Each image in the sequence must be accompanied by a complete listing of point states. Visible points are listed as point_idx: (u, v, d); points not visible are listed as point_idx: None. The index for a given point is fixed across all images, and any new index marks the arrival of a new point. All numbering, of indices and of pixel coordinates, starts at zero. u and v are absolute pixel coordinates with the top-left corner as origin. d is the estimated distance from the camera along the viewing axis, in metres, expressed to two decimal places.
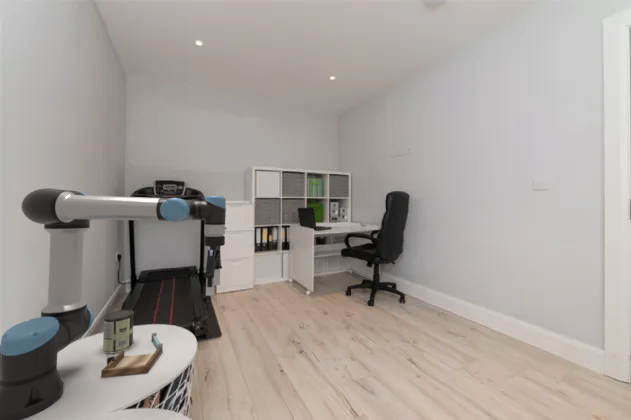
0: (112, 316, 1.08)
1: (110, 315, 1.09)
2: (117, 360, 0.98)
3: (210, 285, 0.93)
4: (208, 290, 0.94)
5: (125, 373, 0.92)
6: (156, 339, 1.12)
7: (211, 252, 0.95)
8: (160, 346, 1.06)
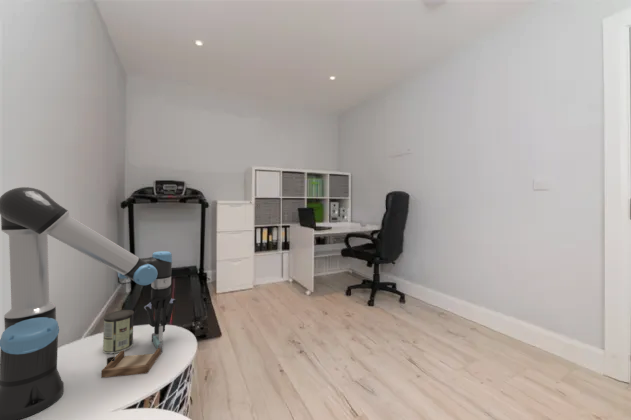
0: (112, 316, 1.08)
1: (110, 315, 1.09)
2: (117, 360, 0.98)
3: (155, 333, 1.13)
4: (157, 336, 1.14)
5: (125, 373, 0.92)
6: (156, 339, 1.12)
7: (145, 308, 1.10)
8: (160, 346, 1.06)
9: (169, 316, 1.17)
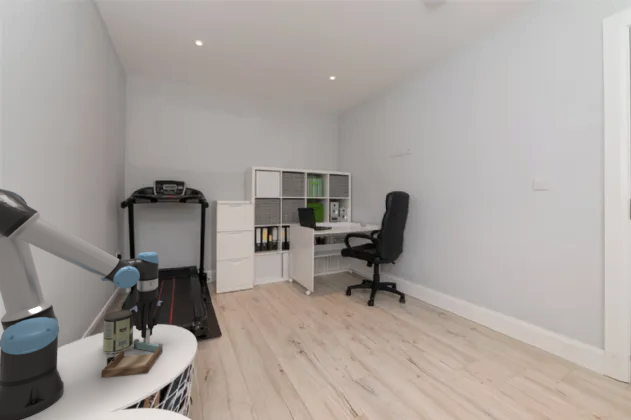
0: (112, 316, 1.08)
1: (110, 315, 1.09)
2: (117, 360, 0.98)
3: (142, 336, 1.09)
4: (144, 340, 1.10)
5: (125, 373, 0.92)
6: (146, 343, 1.09)
7: None
8: (161, 346, 1.06)
9: (156, 319, 1.13)
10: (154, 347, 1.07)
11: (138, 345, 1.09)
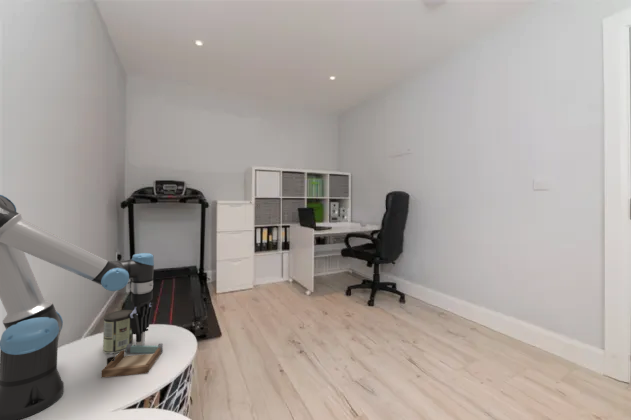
0: (112, 316, 1.08)
1: (110, 315, 1.09)
2: (117, 360, 0.98)
3: (138, 340, 1.06)
4: (138, 344, 1.07)
5: (125, 373, 0.92)
6: (141, 346, 1.06)
7: (131, 316, 1.01)
8: (162, 345, 1.07)
9: (149, 321, 1.11)
10: (153, 348, 1.06)
11: (132, 349, 1.06)
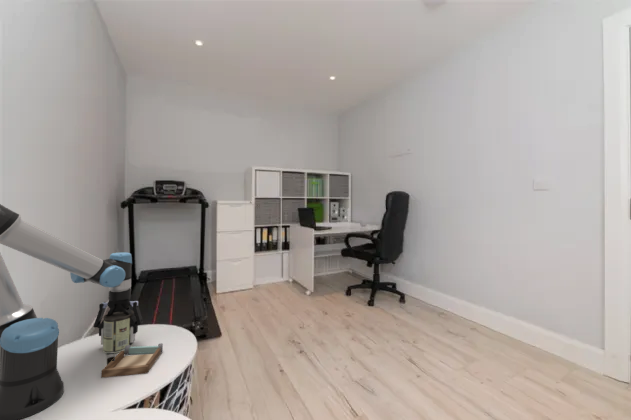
0: (111, 316, 1.08)
1: (110, 315, 1.09)
2: (117, 360, 0.98)
3: None
4: None
5: (125, 373, 0.92)
6: (140, 347, 1.06)
7: None
8: (162, 345, 1.07)
9: (137, 319, 1.10)
10: (153, 348, 1.06)
11: (131, 350, 1.05)
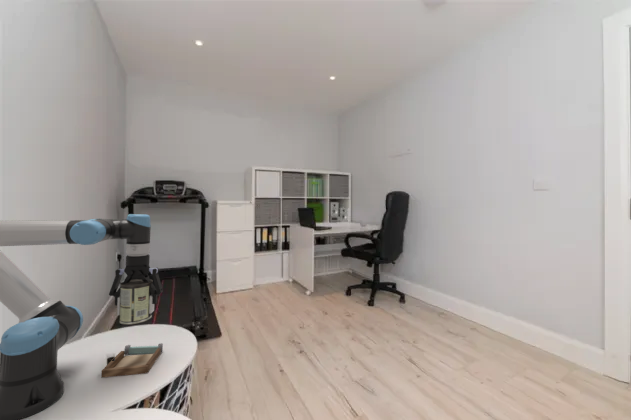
0: (129, 283, 0.97)
1: (127, 283, 0.98)
2: (117, 360, 0.98)
3: None
4: None
5: (125, 373, 0.92)
6: (140, 347, 1.06)
7: None
8: (162, 345, 1.07)
9: (157, 287, 0.99)
10: (153, 348, 1.06)
11: (131, 350, 1.05)
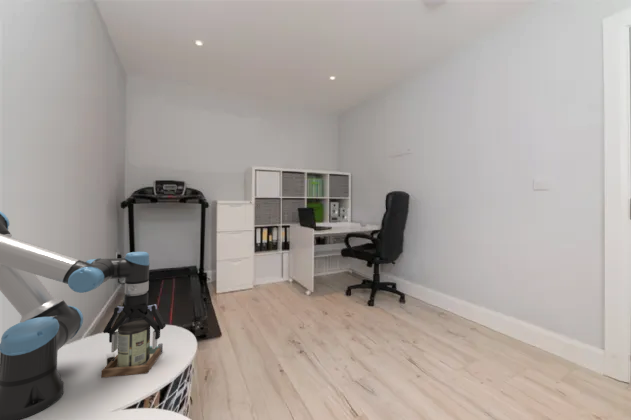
0: (127, 328, 0.97)
1: (125, 327, 0.98)
2: (117, 360, 0.98)
3: None
4: None
5: (125, 373, 0.92)
6: None
7: None
8: (162, 345, 1.07)
9: (159, 323, 0.99)
10: None
11: None
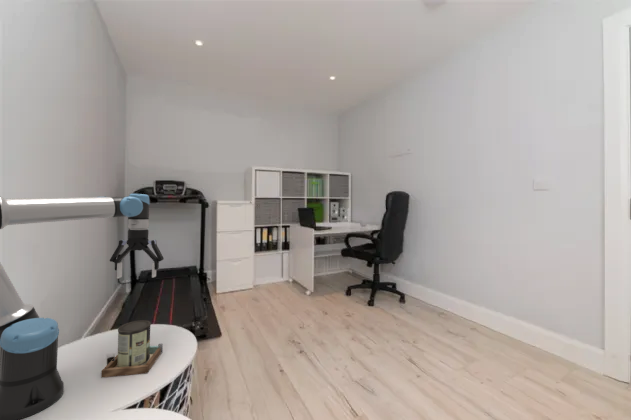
0: (127, 328, 0.97)
1: (125, 327, 0.98)
2: (117, 360, 0.98)
3: None
4: None
5: (125, 373, 0.92)
6: None
7: None
8: (162, 345, 1.07)
9: (158, 255, 1.15)
10: (153, 348, 1.06)
11: None
